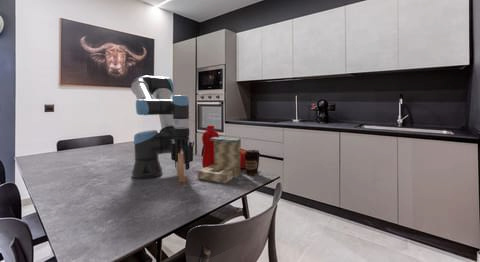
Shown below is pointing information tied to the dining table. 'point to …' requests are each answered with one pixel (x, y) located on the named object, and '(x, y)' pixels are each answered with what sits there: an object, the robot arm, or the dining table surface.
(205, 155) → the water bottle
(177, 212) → the dining table surface
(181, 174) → the peg
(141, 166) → the robot arm
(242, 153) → the tomato
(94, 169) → the dining table surface
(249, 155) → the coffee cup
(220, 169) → the socket awning
